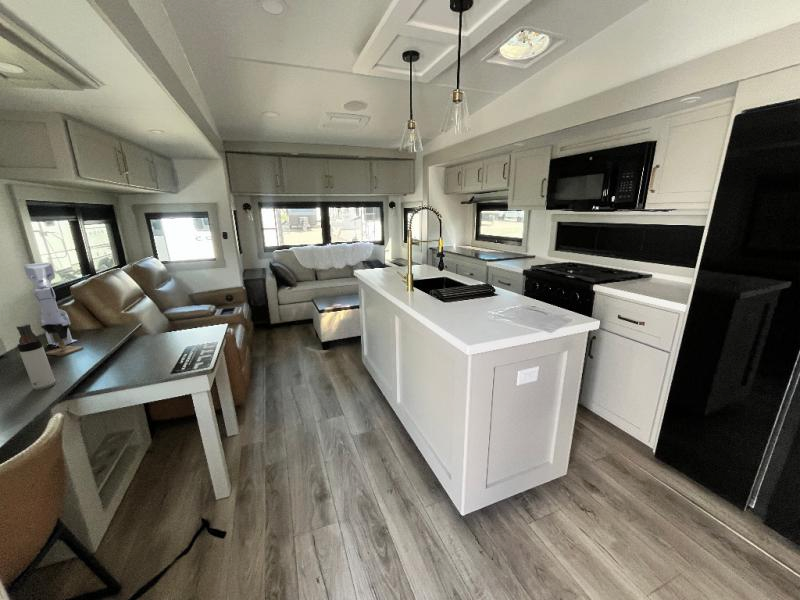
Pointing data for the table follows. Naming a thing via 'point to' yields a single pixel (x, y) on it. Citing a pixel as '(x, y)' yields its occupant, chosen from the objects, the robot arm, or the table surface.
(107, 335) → the table surface
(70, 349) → the brown peg board
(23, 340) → the sauce bottle
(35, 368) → the travel mug
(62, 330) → the robot arm
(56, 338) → the octagonal steel tube
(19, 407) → the table surface
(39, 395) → the table surface
